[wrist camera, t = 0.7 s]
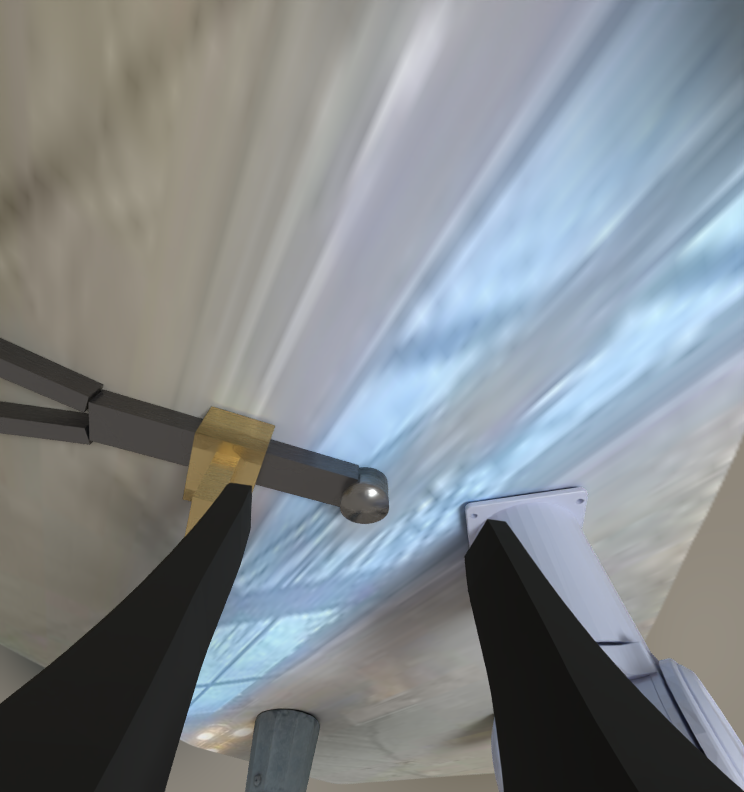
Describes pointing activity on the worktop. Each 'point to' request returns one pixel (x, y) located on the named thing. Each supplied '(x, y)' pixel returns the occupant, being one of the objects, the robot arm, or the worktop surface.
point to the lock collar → (223, 458)
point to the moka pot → (282, 751)
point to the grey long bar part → (172, 435)
